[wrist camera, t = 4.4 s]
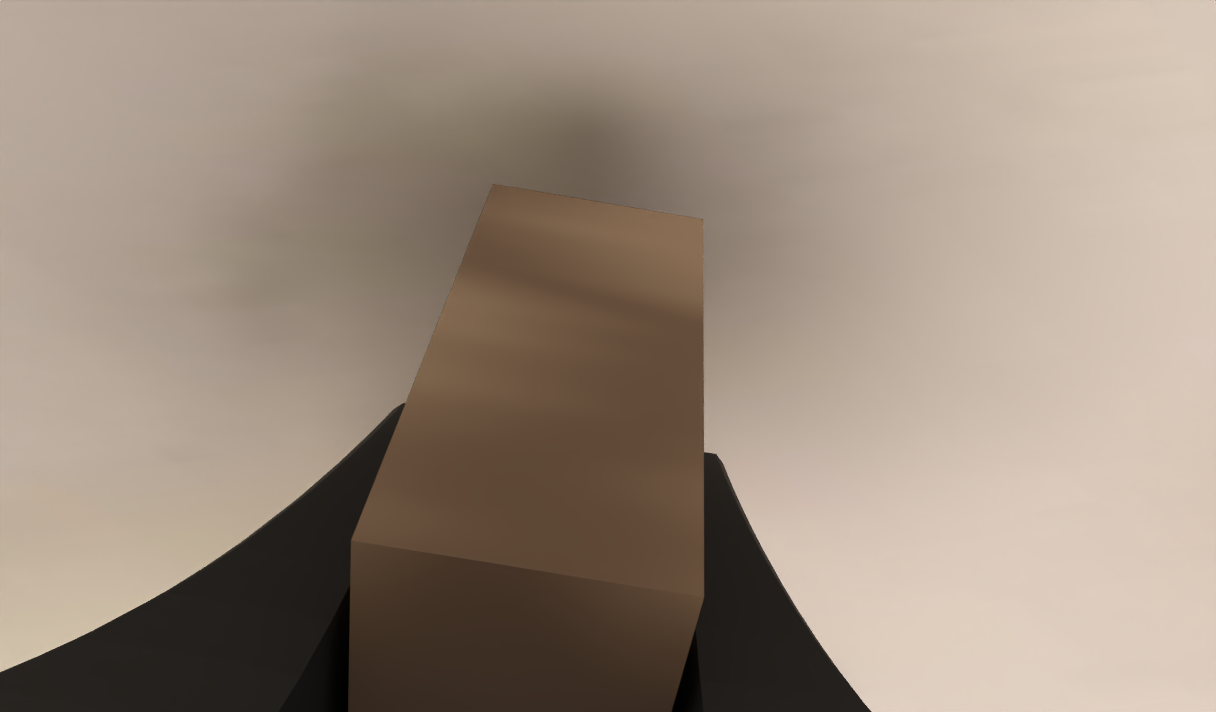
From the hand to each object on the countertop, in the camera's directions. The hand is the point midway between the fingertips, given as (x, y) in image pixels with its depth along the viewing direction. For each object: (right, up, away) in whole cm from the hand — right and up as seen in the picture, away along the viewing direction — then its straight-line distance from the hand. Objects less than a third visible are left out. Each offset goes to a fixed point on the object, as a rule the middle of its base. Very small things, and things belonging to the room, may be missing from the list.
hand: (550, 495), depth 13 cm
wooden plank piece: (0, -1, +3) cm, 3 cm away
